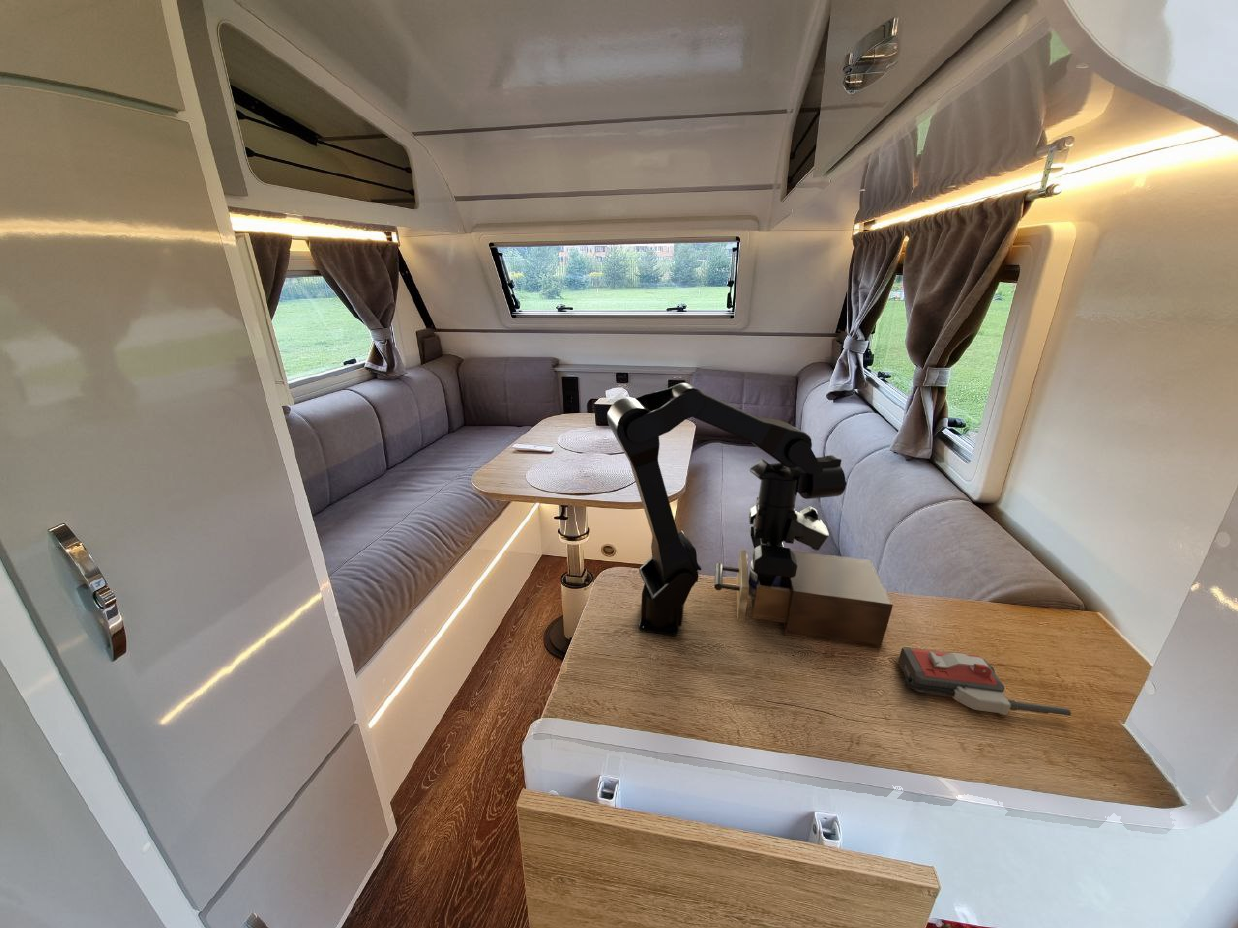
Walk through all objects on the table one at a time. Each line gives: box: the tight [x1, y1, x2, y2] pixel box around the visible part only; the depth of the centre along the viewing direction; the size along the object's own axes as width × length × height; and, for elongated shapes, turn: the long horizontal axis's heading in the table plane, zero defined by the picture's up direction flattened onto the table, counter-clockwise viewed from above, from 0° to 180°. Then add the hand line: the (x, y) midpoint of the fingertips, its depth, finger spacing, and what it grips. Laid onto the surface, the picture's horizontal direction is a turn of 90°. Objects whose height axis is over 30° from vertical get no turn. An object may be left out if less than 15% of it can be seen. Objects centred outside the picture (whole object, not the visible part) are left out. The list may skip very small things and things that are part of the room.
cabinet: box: [783, 550, 894, 650], centre depth 81 cm, size 15×13×9 cm
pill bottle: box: [748, 545, 781, 600], centre depth 82 cm, size 5×5×9 cm
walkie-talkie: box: [897, 646, 1072, 716], centre depth 67 cm, size 9×4×20 cm
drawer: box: [713, 549, 792, 624], centre depth 83 cm, size 18×11×7 cm, turn 78°
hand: (764, 579), depth 83 cm, fingers closed on pill bottle, 5 cm apart
